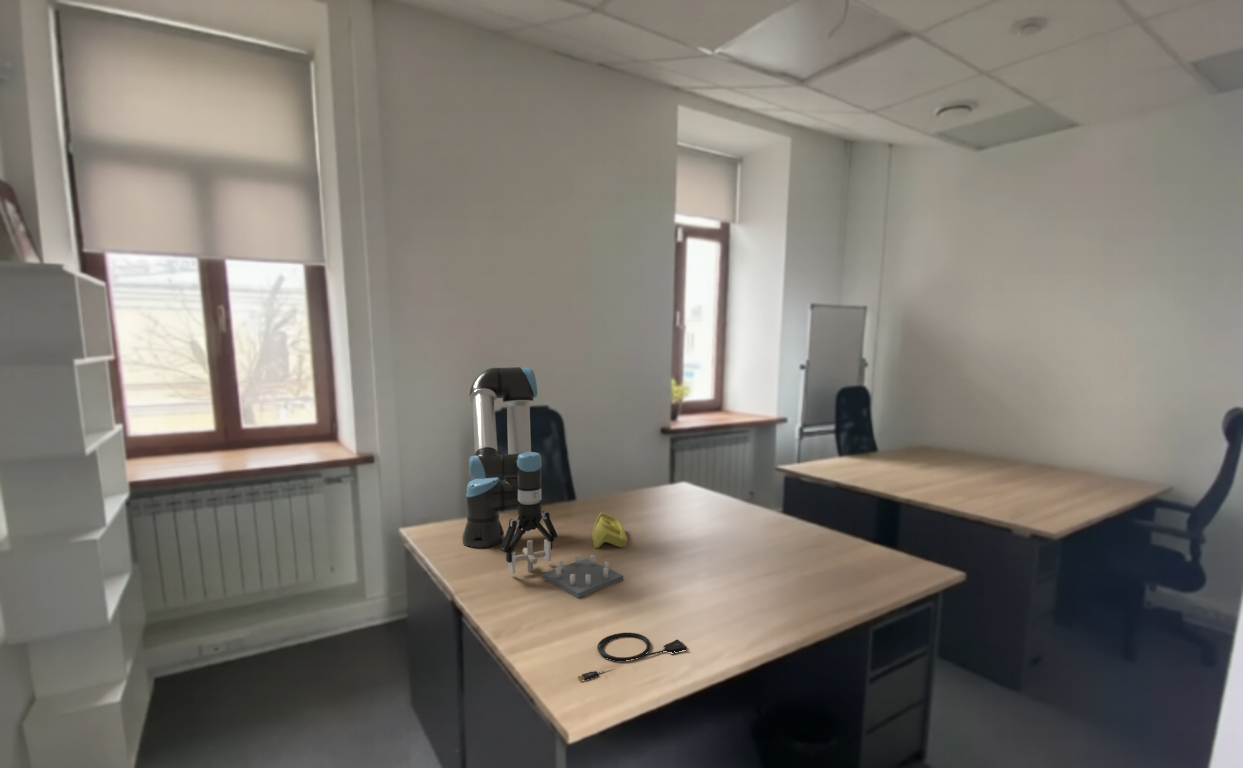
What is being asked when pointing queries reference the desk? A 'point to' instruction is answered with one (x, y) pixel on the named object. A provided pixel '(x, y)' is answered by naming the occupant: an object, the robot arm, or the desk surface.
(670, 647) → the cable
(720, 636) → the desk surface
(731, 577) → the desk surface
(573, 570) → the grey peg board
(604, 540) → the plastic component
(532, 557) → the pipe connector
